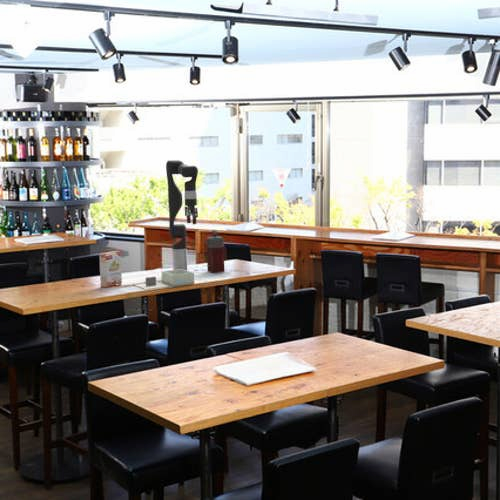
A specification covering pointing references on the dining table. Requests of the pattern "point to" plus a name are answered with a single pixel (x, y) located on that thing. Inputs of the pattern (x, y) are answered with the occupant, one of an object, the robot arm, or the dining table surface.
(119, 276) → the cracker box
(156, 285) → the lid
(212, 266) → the dark red pepper mill
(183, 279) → the box
